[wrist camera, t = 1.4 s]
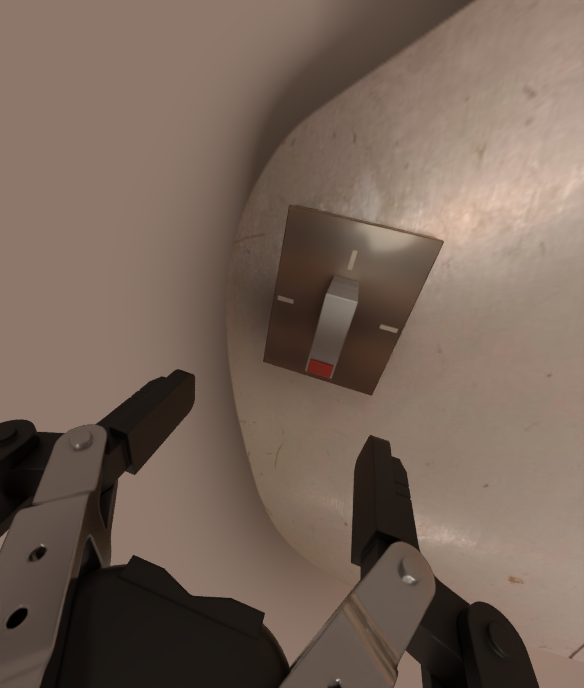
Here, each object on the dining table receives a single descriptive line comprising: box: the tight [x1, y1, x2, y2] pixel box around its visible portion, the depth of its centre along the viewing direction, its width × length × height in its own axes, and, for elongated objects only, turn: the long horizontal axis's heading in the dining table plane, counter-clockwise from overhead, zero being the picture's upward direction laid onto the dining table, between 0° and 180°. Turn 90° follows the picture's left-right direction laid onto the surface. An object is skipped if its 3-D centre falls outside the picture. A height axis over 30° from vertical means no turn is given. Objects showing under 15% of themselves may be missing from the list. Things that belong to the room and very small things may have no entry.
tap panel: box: [263, 205, 444, 395], centre depth 22 cm, size 14×11×3 cm
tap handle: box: [305, 276, 359, 379], centre depth 19 cm, size 6×2×5 cm, turn 168°
